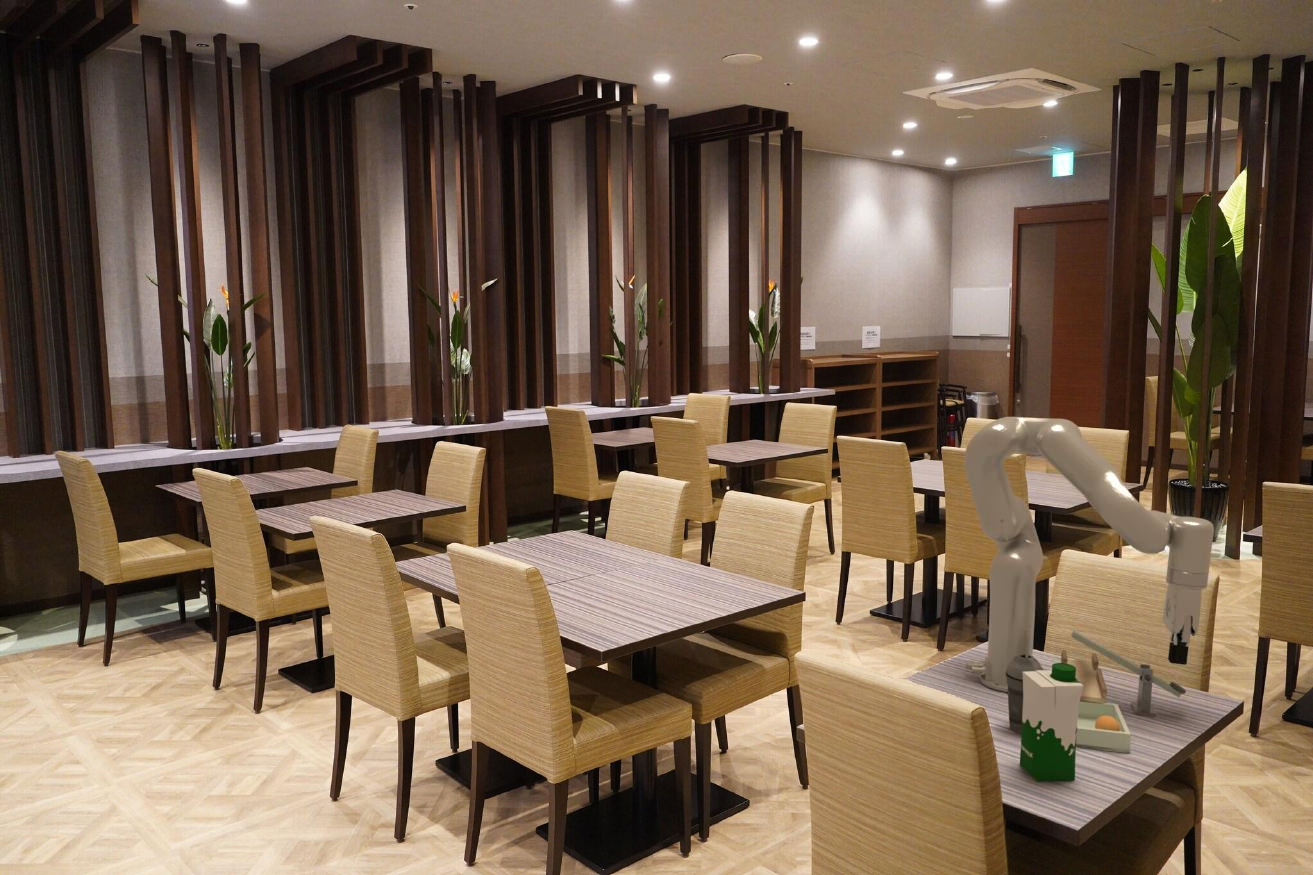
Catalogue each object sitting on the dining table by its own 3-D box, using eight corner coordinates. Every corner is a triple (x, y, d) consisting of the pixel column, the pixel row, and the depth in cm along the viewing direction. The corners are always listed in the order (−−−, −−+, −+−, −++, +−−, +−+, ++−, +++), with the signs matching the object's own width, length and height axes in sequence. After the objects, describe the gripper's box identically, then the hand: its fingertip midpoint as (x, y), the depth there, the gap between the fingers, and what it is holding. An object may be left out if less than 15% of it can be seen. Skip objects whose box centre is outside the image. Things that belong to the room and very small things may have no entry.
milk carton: (1082, 782, 176) (1089, 675, 173) (1033, 784, 175) (1039, 676, 172) (1058, 760, 184) (1064, 657, 182) (1011, 762, 184) (1017, 659, 181)
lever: (1072, 638, 209) (1076, 631, 208) (1070, 633, 212) (1074, 626, 211) (1182, 700, 204) (1187, 693, 203) (1179, 694, 207) (1184, 687, 207)
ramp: (1067, 720, 202) (1070, 675, 201) (1059, 691, 218) (1061, 649, 217) (1104, 724, 201) (1107, 679, 199) (1093, 695, 216) (1096, 652, 215)
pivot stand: (1135, 714, 206) (1138, 670, 205) (1130, 704, 211) (1133, 661, 210) (1156, 716, 205) (1159, 672, 204) (1151, 707, 210) (1154, 663, 209)
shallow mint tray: (1061, 745, 191) (1063, 726, 190) (1053, 714, 205) (1054, 697, 205) (1129, 753, 188) (1130, 734, 187) (1116, 721, 202) (1117, 704, 202)
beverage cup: (1035, 723, 201) (1040, 629, 198) (1045, 738, 194) (1051, 640, 191) (998, 721, 202) (1003, 627, 199) (1007, 737, 194) (1012, 639, 192)
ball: (1092, 719, 192) (1088, 723, 196) (1106, 740, 190) (1102, 744, 194) (1112, 709, 192) (1108, 714, 196) (1126, 730, 190) (1122, 734, 194)
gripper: (1159, 566, 210) (1150, 648, 213) (1175, 585, 196) (1164, 672, 199) (1198, 570, 208) (1188, 652, 211) (1216, 589, 194) (1206, 678, 197)
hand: (1177, 662), depth 205 cm, fingers closed
